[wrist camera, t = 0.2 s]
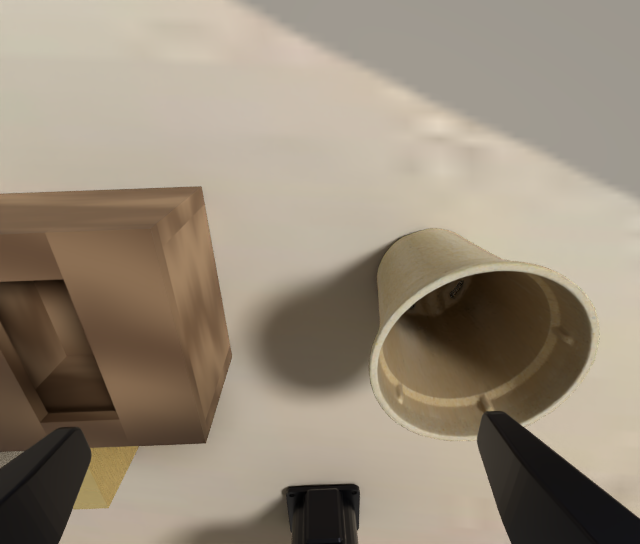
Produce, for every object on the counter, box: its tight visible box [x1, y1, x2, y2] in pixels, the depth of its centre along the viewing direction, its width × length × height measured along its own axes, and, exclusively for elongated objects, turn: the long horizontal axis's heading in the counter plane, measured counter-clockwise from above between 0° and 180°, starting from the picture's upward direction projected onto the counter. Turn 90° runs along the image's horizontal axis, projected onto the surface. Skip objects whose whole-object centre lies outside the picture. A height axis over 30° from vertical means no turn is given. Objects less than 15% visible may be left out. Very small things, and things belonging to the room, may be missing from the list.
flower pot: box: [369, 228, 600, 441], centre depth 19 cm, size 9×9×9 cm
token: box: [73, 446, 139, 509], centre depth 26 cm, size 6×2×5 cm, turn 2°
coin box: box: [0, 187, 232, 452], centre depth 19 cm, size 12×12×7 cm
